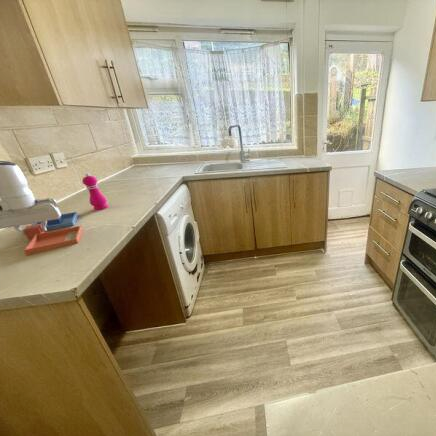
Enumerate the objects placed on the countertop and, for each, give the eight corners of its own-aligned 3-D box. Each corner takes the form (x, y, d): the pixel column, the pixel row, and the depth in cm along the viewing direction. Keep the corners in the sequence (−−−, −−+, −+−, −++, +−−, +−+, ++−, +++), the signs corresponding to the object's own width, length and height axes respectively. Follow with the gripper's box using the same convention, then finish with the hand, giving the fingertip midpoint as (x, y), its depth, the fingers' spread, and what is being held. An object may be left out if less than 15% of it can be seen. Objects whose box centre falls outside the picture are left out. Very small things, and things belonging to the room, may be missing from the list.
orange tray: (26, 256, 90) (23, 250, 89) (37, 240, 102) (34, 234, 101) (78, 244, 97) (76, 238, 96) (83, 230, 109) (81, 225, 108)
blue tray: (29, 235, 106) (27, 230, 105) (38, 223, 118) (36, 218, 116) (74, 226, 113) (72, 221, 112) (78, 216, 125) (76, 211, 124)
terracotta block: (28, 239, 101) (23, 230, 99) (31, 235, 104) (26, 226, 103) (42, 237, 103) (38, 227, 101) (45, 233, 107) (40, 223, 105)
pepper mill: (112, 207, 135) (98, 171, 127) (98, 212, 129) (82, 175, 121) (104, 205, 138) (90, 171, 130) (90, 210, 132) (74, 174, 124)
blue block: (48, 226, 112) (44, 218, 111) (50, 223, 116) (46, 214, 114) (61, 224, 115) (57, 215, 113) (63, 221, 118) (59, 212, 116)
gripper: (55, 195, 105) (67, 224, 111) (-14, 204, 95) (4, 236, 101) (52, 199, 100) (65, 229, 106) (-21, 209, 90) (-2, 242, 96)
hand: (35, 232), depth 103 cm, fingers closed on terracotta block, 4 cm apart
